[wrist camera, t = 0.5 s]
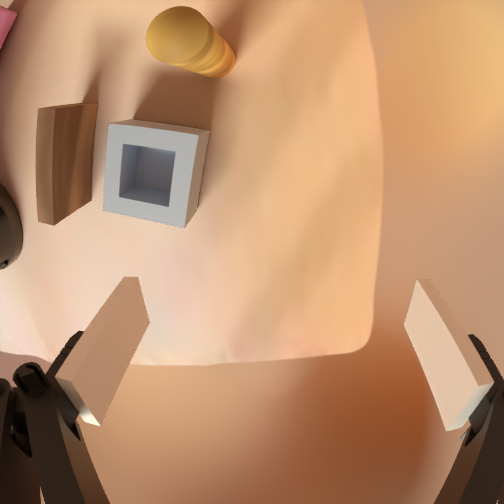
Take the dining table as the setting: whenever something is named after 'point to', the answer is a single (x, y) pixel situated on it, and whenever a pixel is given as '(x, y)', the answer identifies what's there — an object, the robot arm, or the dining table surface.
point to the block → (154, 170)
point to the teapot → (6, 22)
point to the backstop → (64, 159)
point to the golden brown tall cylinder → (189, 42)
